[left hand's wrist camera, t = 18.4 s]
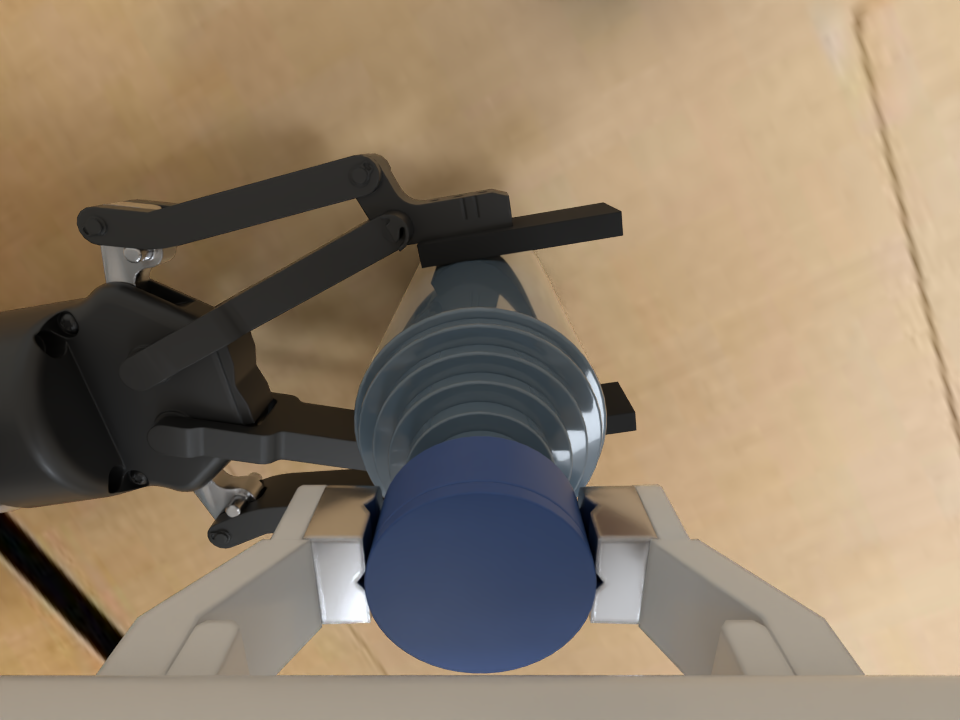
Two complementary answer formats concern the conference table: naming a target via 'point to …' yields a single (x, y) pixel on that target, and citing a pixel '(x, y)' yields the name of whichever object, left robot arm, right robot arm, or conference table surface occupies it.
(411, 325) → the bottle
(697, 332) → the conference table surface
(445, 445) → the cap
